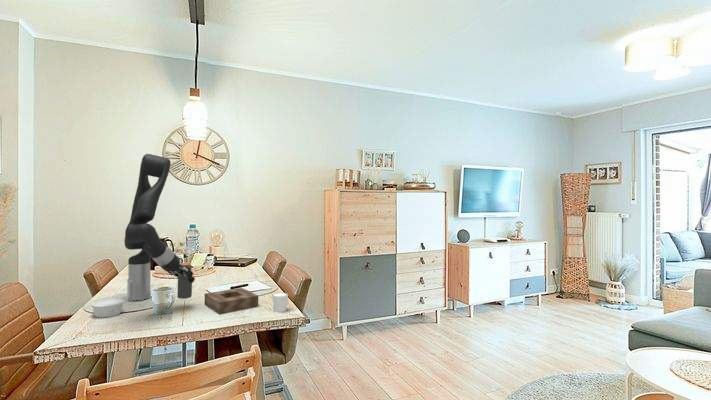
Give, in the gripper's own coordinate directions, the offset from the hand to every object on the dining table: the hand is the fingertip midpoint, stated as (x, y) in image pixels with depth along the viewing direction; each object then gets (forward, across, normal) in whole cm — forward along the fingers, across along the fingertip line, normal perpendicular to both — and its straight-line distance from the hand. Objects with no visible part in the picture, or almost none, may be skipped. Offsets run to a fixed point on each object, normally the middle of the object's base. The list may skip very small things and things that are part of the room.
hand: (188, 280), depth 169 cm
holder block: (+15, -17, +1) cm, 23 cm away
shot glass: (+18, -41, -2) cm, 45 cm away
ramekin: (-7, +20, +25) cm, 33 cm away
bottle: (+4, 0, +6) cm, 8 cm away
